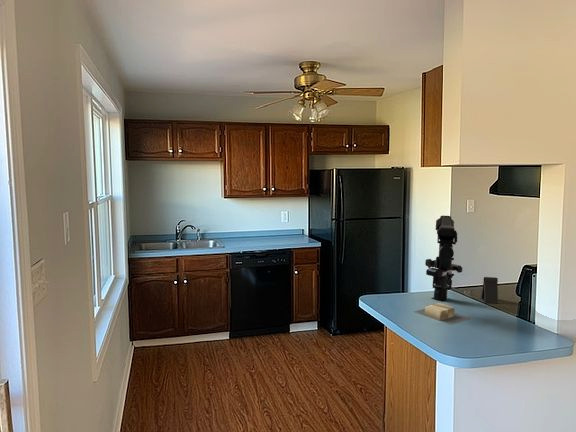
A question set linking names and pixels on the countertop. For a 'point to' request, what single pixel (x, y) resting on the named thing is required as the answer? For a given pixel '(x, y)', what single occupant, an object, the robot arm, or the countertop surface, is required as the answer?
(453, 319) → the mat
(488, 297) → the phone stand
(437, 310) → the maple block
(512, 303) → the countertop surface
